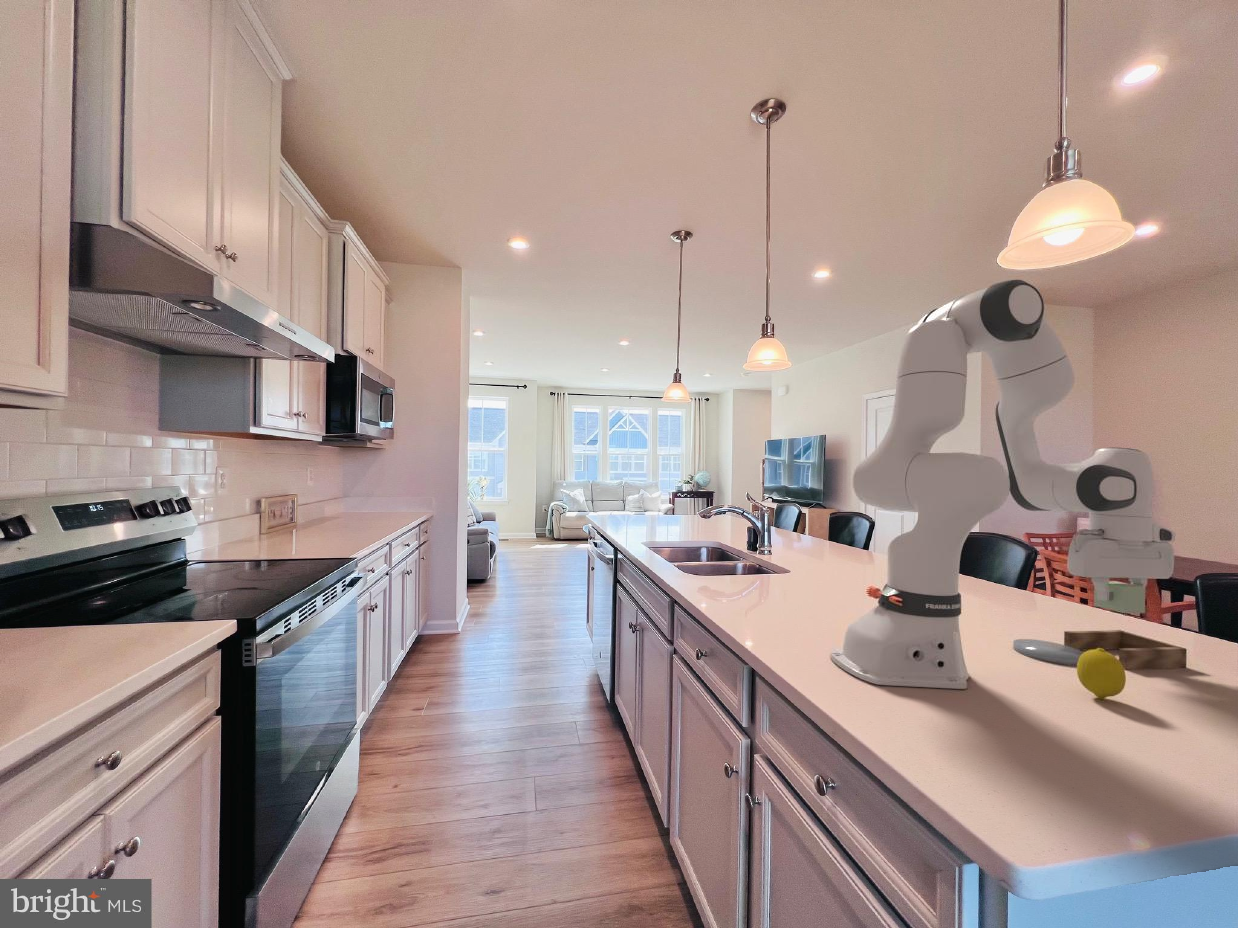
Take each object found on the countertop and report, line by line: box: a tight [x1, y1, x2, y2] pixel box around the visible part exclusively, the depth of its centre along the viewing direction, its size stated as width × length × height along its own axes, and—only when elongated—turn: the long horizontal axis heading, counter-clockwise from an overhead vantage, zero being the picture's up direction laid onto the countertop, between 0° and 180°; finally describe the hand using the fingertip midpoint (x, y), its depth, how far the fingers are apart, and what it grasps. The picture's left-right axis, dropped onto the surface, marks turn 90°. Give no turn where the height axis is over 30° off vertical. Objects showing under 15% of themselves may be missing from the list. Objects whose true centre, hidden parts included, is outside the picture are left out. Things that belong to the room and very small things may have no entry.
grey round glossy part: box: [1012, 638, 1085, 666], centre depth 97 cm, size 11×11×1 cm
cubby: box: [1063, 629, 1188, 671], centre depth 96 cm, size 14×11×4 cm
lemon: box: [1076, 648, 1127, 700], centre depth 77 cm, size 6×6×8 cm
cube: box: [1093, 580, 1146, 614], centre depth 96 cm, size 5×5×5 cm
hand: (1119, 600), depth 96 cm, fingers closed on cube, 5 cm apart
